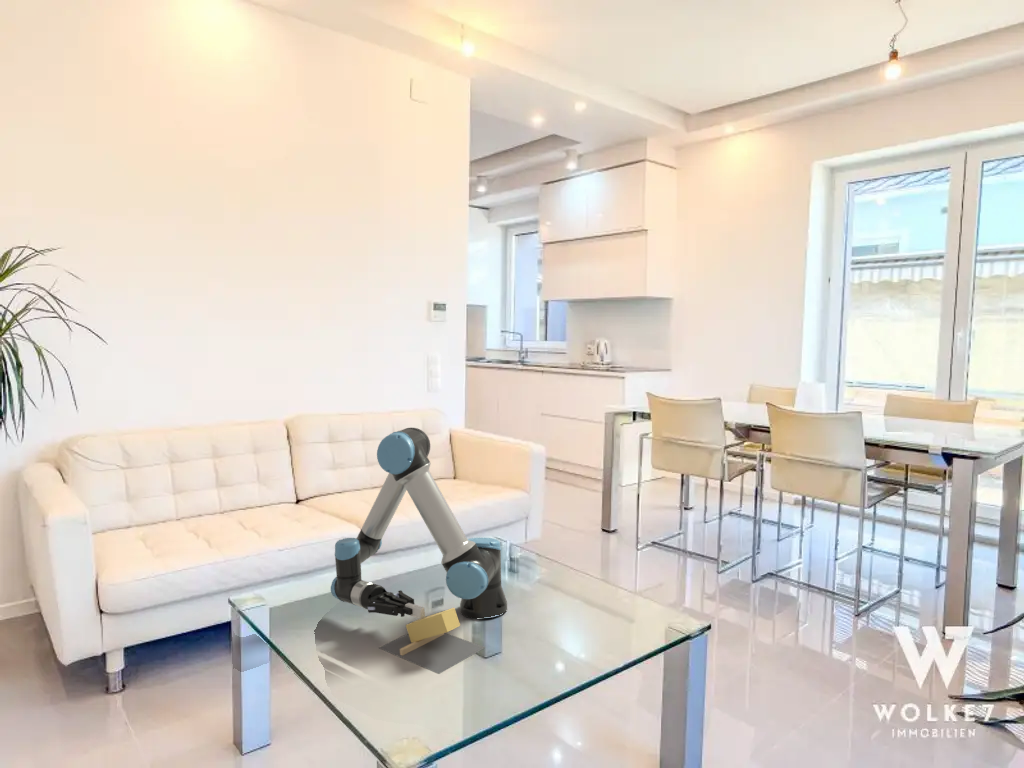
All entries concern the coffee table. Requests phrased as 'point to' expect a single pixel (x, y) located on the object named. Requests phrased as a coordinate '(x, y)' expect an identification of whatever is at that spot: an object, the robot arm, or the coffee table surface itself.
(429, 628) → the mustard block
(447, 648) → the tipping mat
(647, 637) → the coffee table surface
